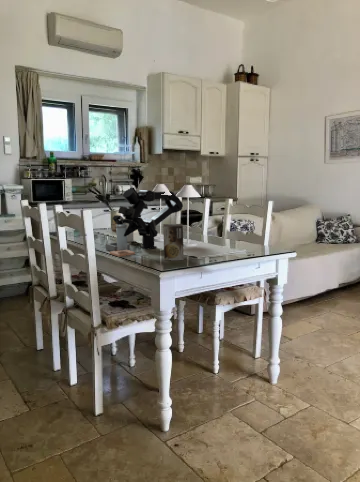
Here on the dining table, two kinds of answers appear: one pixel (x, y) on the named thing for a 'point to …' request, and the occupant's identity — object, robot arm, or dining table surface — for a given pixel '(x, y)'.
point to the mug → (130, 236)
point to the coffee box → (173, 241)
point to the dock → (114, 251)
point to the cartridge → (121, 237)
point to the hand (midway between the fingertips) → (120, 235)
